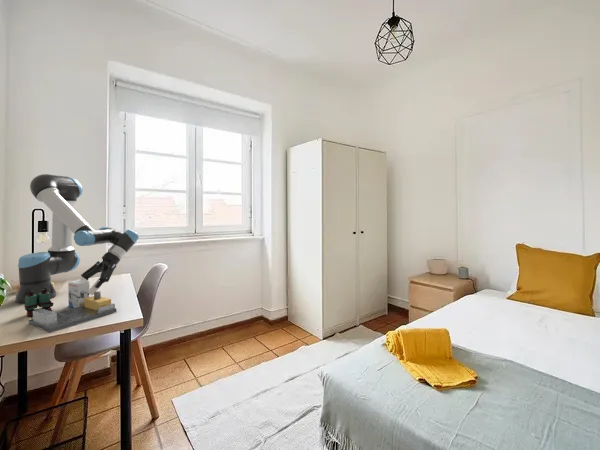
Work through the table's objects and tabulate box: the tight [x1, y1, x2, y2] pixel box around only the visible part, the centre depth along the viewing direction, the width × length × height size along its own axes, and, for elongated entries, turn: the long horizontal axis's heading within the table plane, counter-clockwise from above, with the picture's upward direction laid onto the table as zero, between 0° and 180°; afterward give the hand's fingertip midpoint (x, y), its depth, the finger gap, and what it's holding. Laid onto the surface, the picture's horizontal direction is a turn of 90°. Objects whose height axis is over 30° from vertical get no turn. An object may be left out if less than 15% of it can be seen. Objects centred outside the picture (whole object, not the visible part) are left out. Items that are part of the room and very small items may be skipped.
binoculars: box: [24, 288, 55, 318], centre depth 120 cm, size 9×11×10 cm
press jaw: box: [84, 290, 112, 310], centre depth 123 cm, size 12×5×7 cm, turn 63°
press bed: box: [27, 302, 117, 333], centre depth 116 cm, size 18×24×6 cm
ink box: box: [67, 279, 90, 308], centre depth 130 cm, size 9×5×12 cm, turn 65°
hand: (82, 292), depth 130 cm, fingers open, 13 cm apart
